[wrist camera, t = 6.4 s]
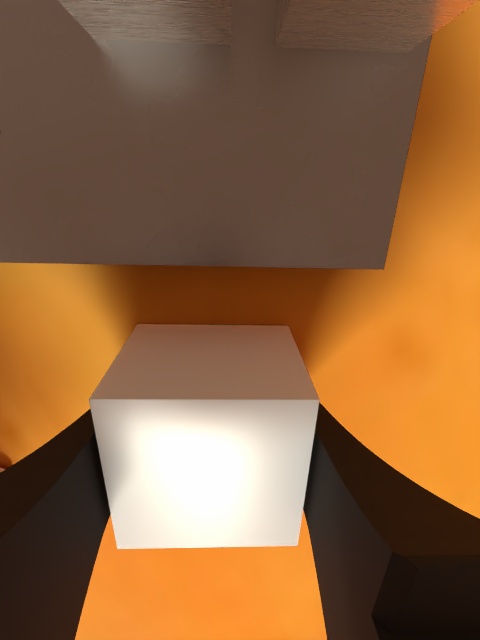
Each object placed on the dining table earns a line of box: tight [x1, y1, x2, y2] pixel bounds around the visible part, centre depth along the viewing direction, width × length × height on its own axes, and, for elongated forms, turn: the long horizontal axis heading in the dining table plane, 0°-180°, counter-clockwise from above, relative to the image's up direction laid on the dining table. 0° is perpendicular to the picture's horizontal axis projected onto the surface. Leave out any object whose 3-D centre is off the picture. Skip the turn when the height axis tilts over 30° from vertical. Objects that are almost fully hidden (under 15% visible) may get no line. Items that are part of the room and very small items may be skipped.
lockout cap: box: [89, 324, 319, 549], centre depth 11 cm, size 6×6×4 cm
